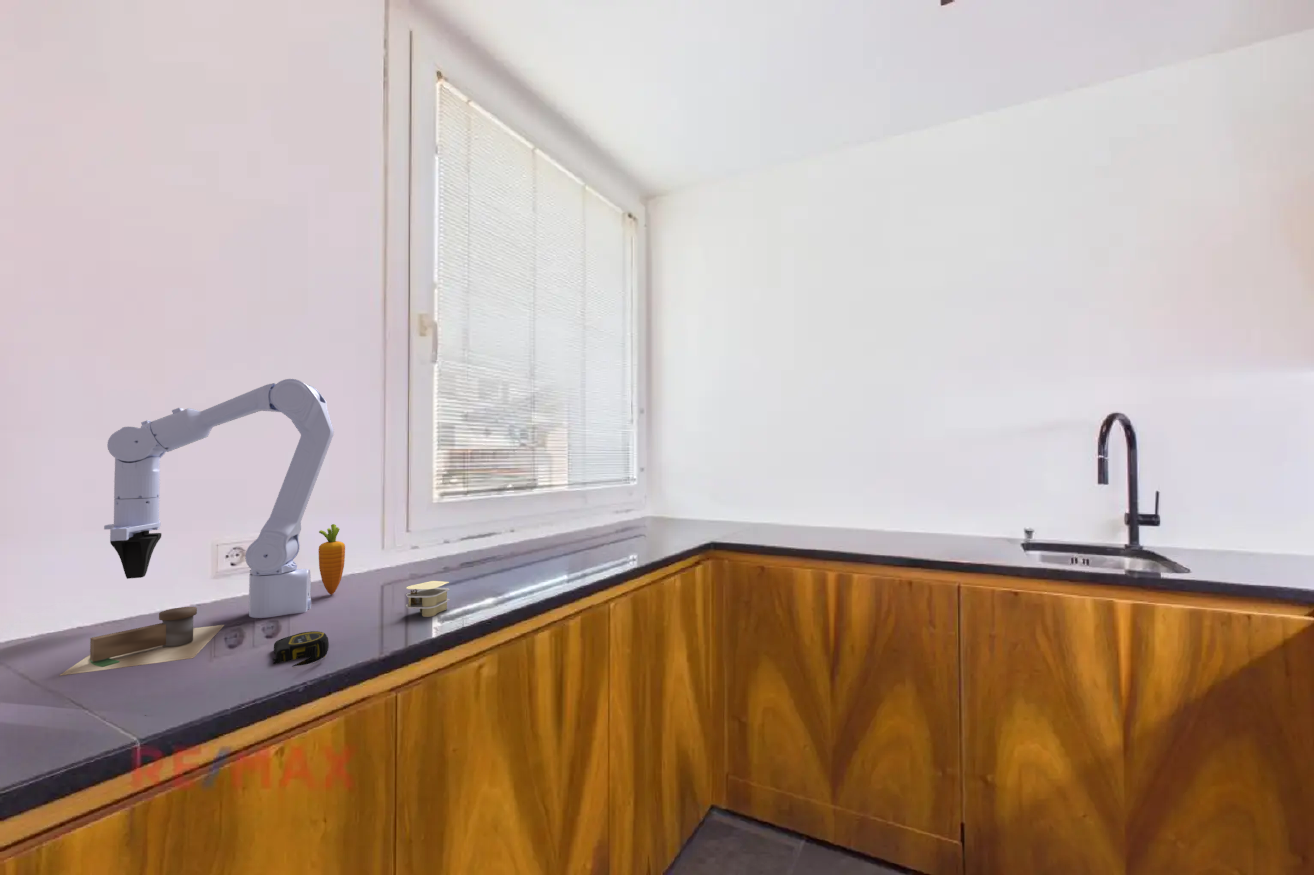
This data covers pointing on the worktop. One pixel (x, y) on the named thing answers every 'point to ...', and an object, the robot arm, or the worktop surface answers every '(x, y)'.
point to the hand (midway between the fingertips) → (135, 577)
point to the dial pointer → (147, 635)
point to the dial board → (149, 654)
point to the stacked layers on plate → (428, 598)
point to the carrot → (331, 559)
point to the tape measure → (301, 647)
